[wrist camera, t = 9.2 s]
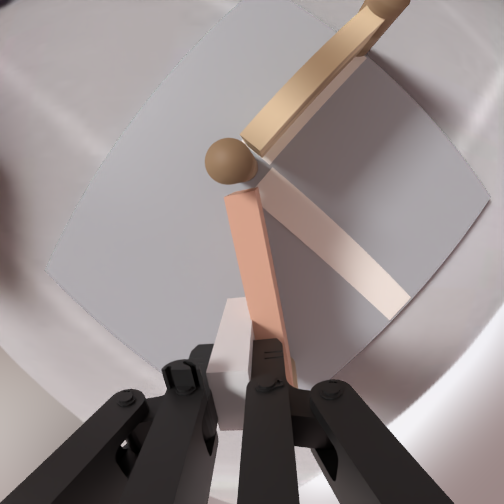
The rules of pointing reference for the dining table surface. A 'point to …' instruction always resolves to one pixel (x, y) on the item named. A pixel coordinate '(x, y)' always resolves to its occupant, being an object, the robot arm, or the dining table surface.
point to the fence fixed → (300, 92)
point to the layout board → (267, 201)
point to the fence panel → (258, 271)
